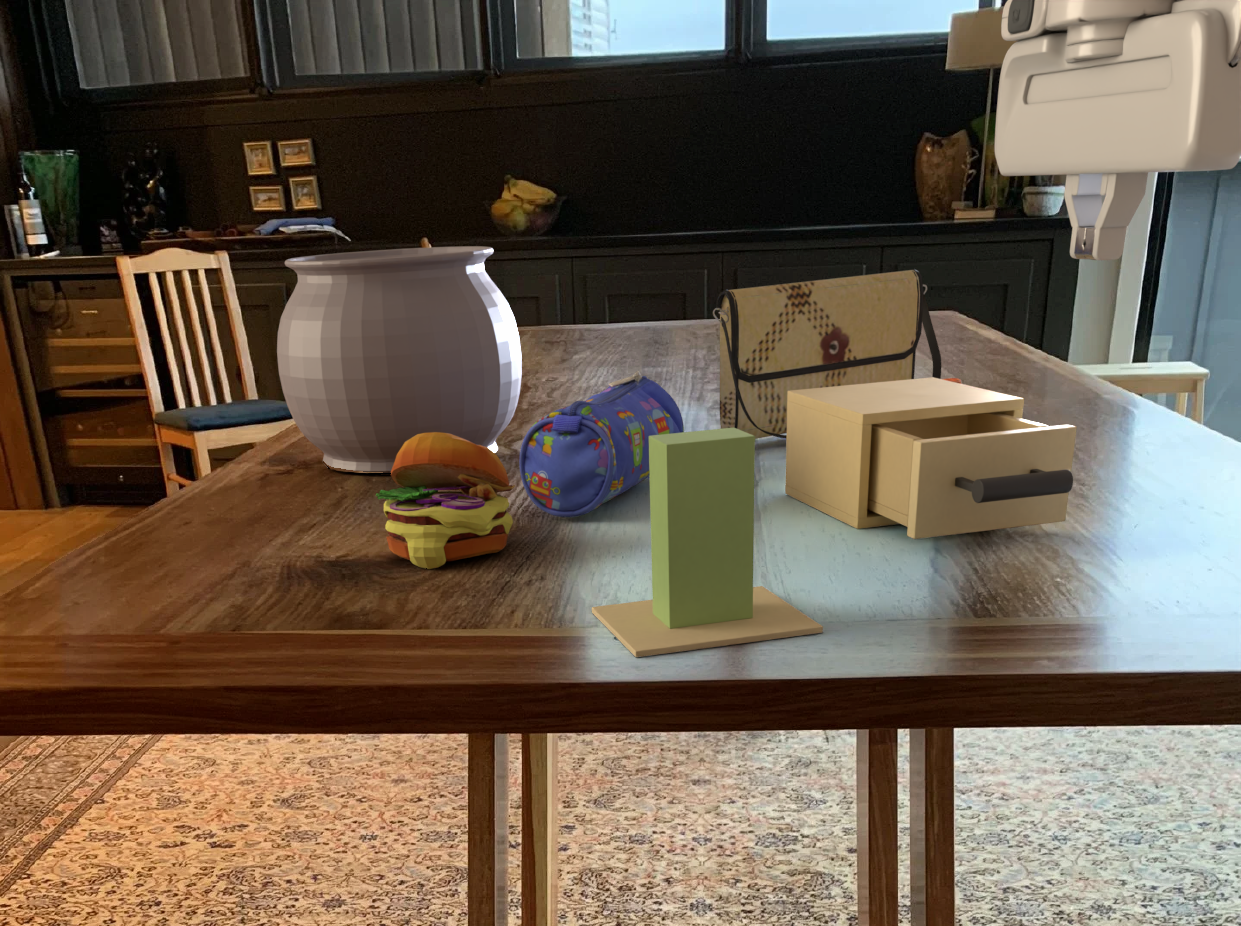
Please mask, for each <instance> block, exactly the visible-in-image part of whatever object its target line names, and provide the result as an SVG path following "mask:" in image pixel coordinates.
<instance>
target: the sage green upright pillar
mask: <svg viewBox="0 0 1241 926" xmlns="http://www.w3.org/2000/svg"><path fill="white" fill-rule="evenodd" d="M755 457H756V439H755V436H753V435H751V434H749V433H746V432H744V431H741V430H739V429H736V428H734V427H733V428H723V429H721V428H715V429H714V428H713V429H703V430H694V431H684V432H682V433H672V434H662V435H651V436H649V474H650V476H649V507H650V509H649V512H650V553H651V554H650V556H651V557H650V558H651V592H652V593H651V594H652V595H651V596H652V598H651V600H653V614H654V615H655V616H656V617H657V618H658V619H659V620H661V621H662V622H663V623H664V624H665V625H666V626H667V627H668V628H670V629H672V628H679V627H687V626H695V625H703V624H710V623H718V622H726V621H733V620H741V619H749V618H753V587H754V551H755V549H754V548H755V547H754V545H755V543H754V542H755V540H754V539H755V477H756V476H755V469H756V467H755V466H756V465H755V464H756V463H755V462H756V458H755Z"/></svg>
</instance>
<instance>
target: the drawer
mask: <svg viewBox="0 0 1241 926" xmlns="http://www.w3.org/2000/svg"><path fill="white" fill-rule="evenodd" d="M871 425H872V428H871V447H870V466H869V485H868V503H867V509H869V510H871V511H873V512H875V513H878V514H880V515H882V516H884V517H886V518H889V519H891V520H893V521H895V522H898V523H900V524H899V525H902V526H904V527H906V528H907V529H906V536H907V537H909V538H911V539H912V540H920V539H929V538H936V537H937V538H938V537H944V536H946V537H947V536H954V535H962V534H970V533H971V534H972V533H979V532H987V531H995V530H996V531H997V530H1003V529H1004V530H1005V529H1012V528H1021V527H1029V526H1036V525H1045V524H1052V523H1053V524H1055V523H1063V522H1066V519H1067V512H1068V511H1067V509H1068V502H1069V495H1070V492H1071V490H1072V488H1073V486H1074V475H1073V473H1072V470H1073V462H1074V454H1075V445H1076V437H1077V430H1078V429H1077V426H1075V425H1071V424H1060V425H1059V424H1058V425H1050V426H1049V425H1047V424H1044V423H1040V422H1036V421H1032V420H1029V419H1024V418H1022V419H1021V418H1017V417H1013V416H1009V415H1005V414H1001V413H997V412H990V413H980V414H970V415H960V416H950V417H940V418H929V419H919V420H909V421H899V422H889V423H879V424H871Z"/></svg>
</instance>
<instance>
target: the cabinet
mask: <svg viewBox="0 0 1241 926" xmlns="http://www.w3.org/2000/svg"><path fill="white" fill-rule="evenodd" d="M942 379H943V378H941V379H938V378H934V377H932V376H931V377H923V378H922V377H921V378H914V379H909V380H898V381H887V382H877V383H866V384H855V385H844V386H833V387H823V388H812V389H801V390H790V391H788V393H787V400H788V401H787V433H786V435H787V437H786V438H785V439H786V444H785V450H786V451H785V481H784V482H785V484H784V485H785V486H784V495H787V496H789V497H791V498H793V499H795V500H797V501H799V502H801V503H803V504H805V505H807V506H809V507H811V508H813V509H816V510H818V511H820V512H821V513H824V514H825V515H828V516H830V517H832V518H834V519H836V520H837V521H841V522H842V523H844V524H846V525H848V526H850V527H852V528H854V529H857V530H860V529H868V528H877V527H884V526H885V527H887V526H893V525H895V526H896V525H901V524H900V523H898V522H895V521H893V520H891V519H889V518H886V517H884V516H882V515H880V514H878V513H875V512H873V511H871V510H869V509H867V503H868V485H869V466H870V447H871V428H872V425H871V424H879V423H889V422H899V421H909V420H919V419H929V418H940V417H950V416H960V415H970V414H980V413H990V412H997V413H1001V414H1005V415H1009V416H1013V417H1017V418H1021V419H1023V415H1024V413H1023V412H1024V405H1025V398H1024V397H1019V396H1015V395H1011V394H1007V393H1002V392H998V391H994V390H989V389H985V388H980V387H976V386H972V385H968V384H963V383H961V384H960V383H955V382H951V381H947V380H942Z"/></svg>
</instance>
